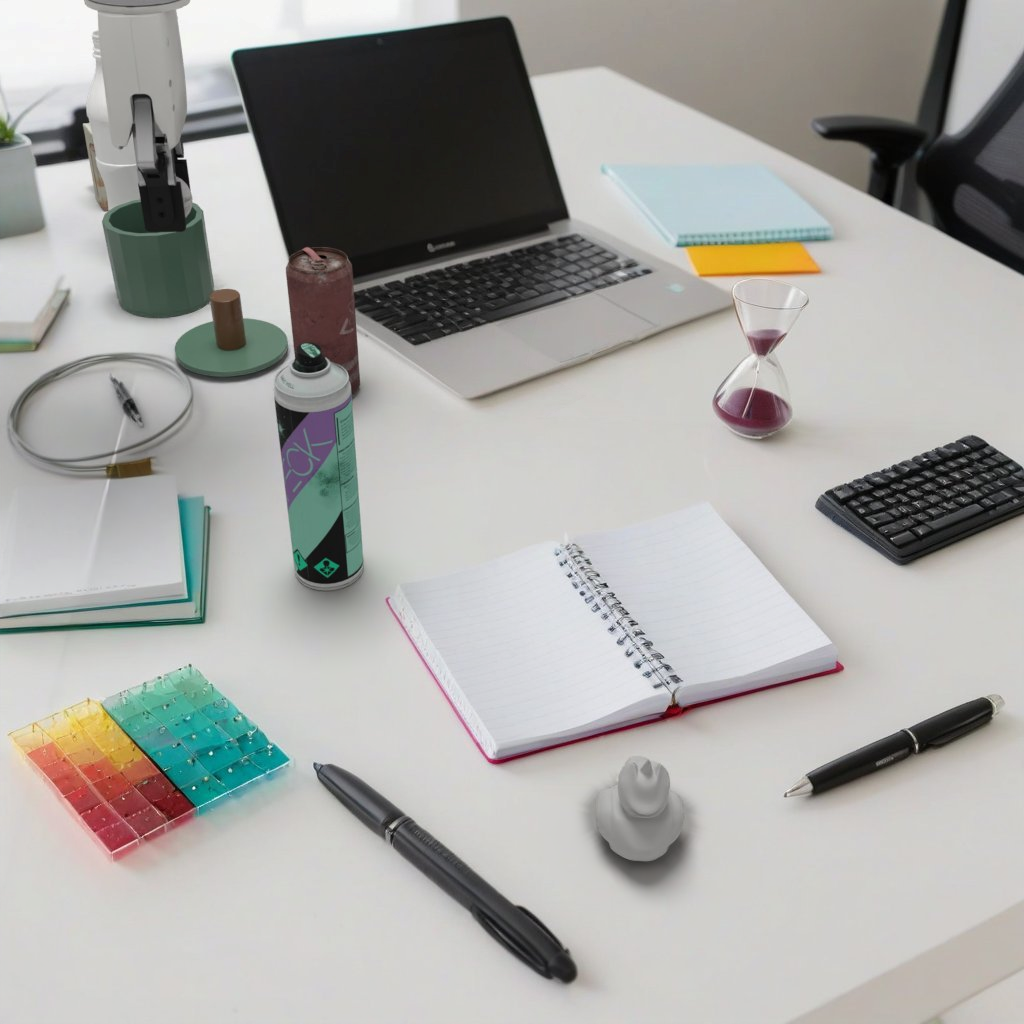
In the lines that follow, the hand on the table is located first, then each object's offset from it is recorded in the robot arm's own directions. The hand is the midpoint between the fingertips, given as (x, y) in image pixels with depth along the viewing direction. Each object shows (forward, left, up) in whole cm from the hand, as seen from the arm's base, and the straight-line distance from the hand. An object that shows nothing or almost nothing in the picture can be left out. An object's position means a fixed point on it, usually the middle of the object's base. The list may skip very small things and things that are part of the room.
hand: (169, 216), depth 95 cm
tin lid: (+2, +15, -21) cm, 25 cm away
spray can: (+11, -21, -21) cm, 32 cm away
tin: (-7, +29, -21) cm, 36 cm away
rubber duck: (+30, -49, -21) cm, 62 cm away
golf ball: (0, 0, -1) cm, 1 cm away
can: (+11, +7, -21) cm, 25 cm away
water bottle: (-11, +42, -21) cm, 48 cm away
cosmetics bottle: (-16, +57, -21) cm, 63 cm away
